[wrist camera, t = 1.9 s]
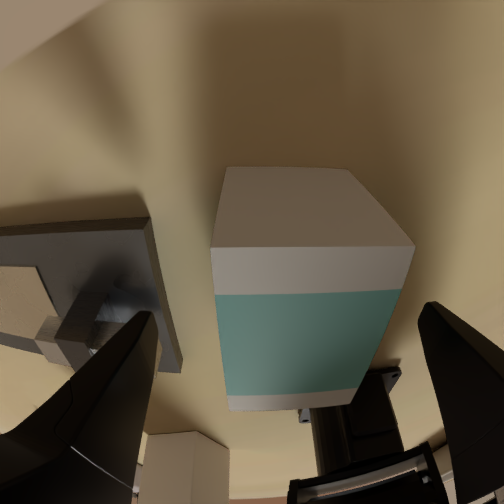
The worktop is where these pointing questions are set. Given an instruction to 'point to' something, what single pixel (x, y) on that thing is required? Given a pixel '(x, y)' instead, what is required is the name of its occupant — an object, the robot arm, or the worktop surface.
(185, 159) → the worktop surface
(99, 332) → the shaft stand
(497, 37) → the worktop surface
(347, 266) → the block
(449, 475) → the soup bowl
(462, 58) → the worktop surface
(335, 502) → the robot arm
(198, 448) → the milk
